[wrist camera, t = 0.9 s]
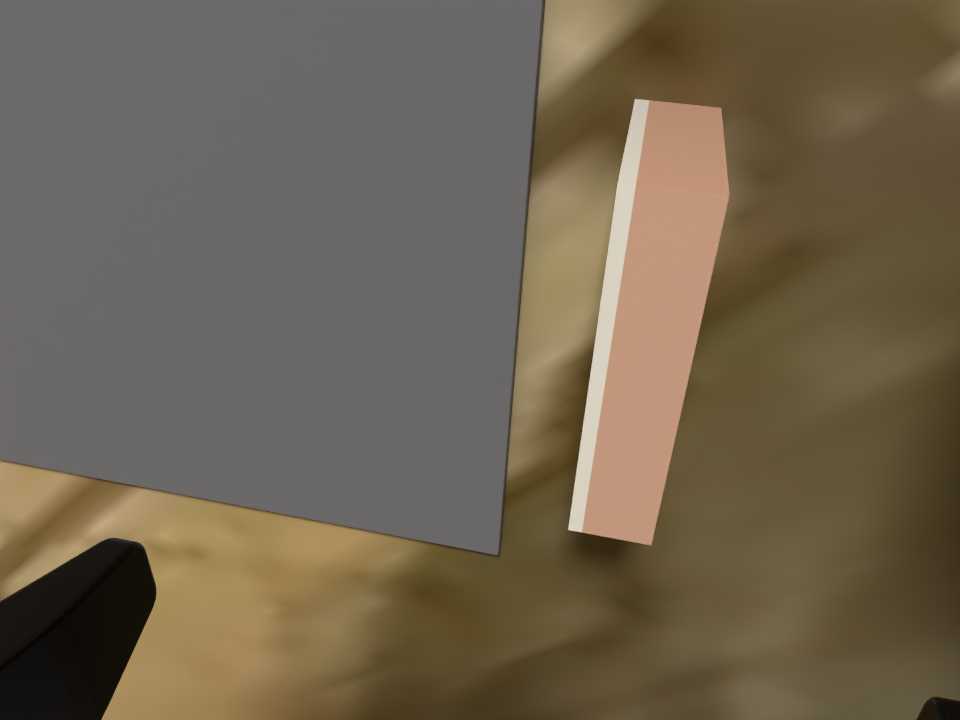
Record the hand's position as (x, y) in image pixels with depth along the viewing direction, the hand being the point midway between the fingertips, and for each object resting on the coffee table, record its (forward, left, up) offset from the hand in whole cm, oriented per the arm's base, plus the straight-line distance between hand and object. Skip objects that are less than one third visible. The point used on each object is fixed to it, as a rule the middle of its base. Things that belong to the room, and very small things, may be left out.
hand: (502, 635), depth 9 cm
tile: (-1, +1, -12) cm, 12 cm away
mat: (+11, +3, -12) cm, 16 cm away
